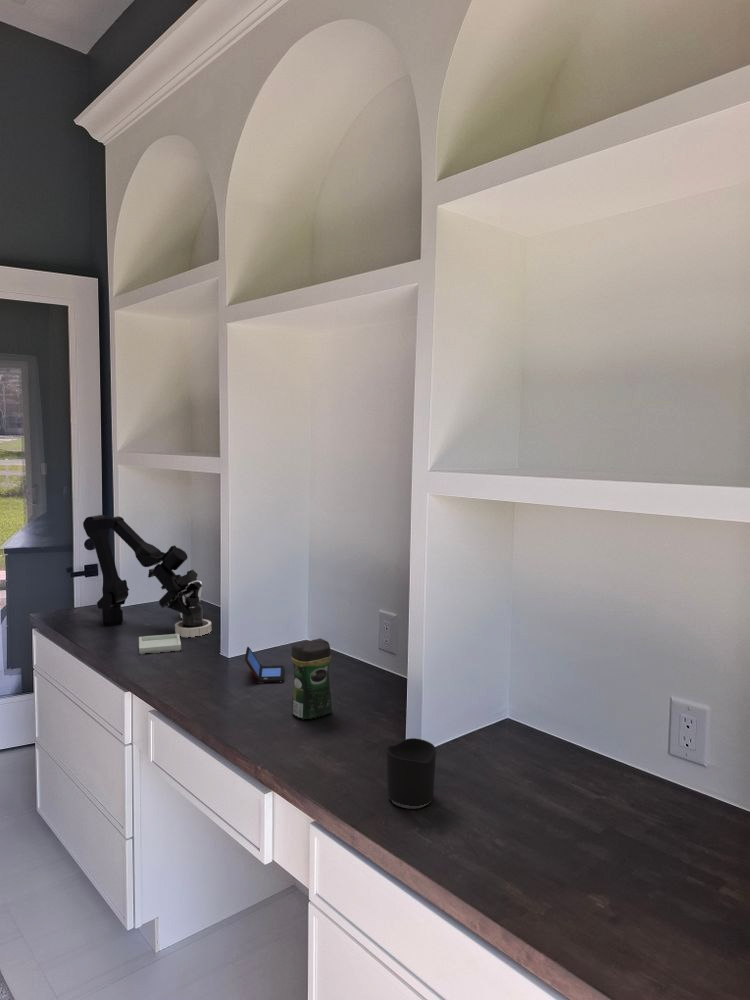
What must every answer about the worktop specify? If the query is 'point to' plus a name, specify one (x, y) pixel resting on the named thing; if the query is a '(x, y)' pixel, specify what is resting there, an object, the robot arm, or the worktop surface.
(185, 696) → the worktop surface
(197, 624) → the supplement bottle
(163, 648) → the sage tray
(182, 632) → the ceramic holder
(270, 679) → the handheld game console
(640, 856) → the worktop surface
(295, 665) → the coffee jar
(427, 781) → the pen holder
